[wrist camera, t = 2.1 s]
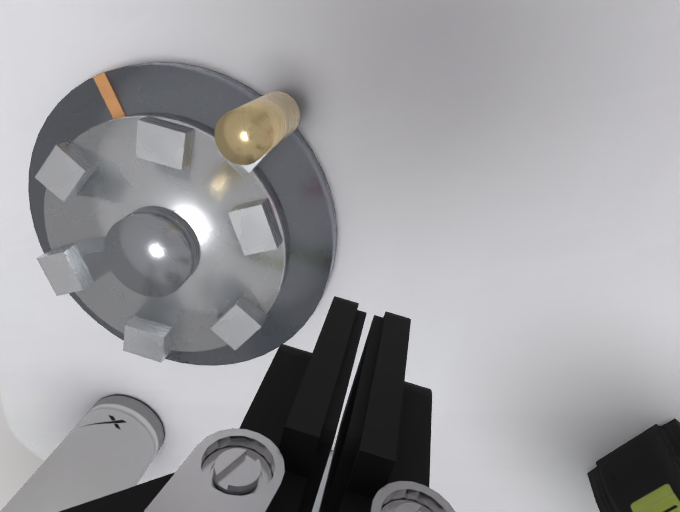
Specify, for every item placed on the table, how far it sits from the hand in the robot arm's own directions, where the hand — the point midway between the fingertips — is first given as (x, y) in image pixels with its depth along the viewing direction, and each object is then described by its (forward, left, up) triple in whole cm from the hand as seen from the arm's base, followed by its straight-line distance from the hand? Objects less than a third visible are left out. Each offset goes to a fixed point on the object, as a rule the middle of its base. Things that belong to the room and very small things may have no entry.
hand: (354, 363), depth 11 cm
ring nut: (+7, -11, -19) cm, 23 cm away
